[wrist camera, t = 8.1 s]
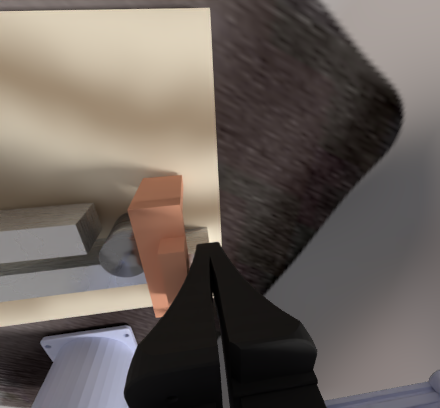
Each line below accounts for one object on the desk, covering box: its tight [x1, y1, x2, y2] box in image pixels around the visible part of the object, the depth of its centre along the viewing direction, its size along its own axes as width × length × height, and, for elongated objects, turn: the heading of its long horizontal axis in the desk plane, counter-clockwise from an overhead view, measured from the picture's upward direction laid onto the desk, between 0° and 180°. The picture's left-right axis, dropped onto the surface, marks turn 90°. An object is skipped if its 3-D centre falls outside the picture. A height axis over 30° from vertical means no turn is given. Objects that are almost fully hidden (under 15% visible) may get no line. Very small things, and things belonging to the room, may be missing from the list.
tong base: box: [0, 212, 209, 302], centre depth 14 cm, size 4×21×3 cm, turn 93°
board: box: [0, 8, 222, 327], centre depth 15 cm, size 20×22×1 cm
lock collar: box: [127, 175, 190, 318], centre depth 13 cm, size 8×2×5 cm, turn 2°
